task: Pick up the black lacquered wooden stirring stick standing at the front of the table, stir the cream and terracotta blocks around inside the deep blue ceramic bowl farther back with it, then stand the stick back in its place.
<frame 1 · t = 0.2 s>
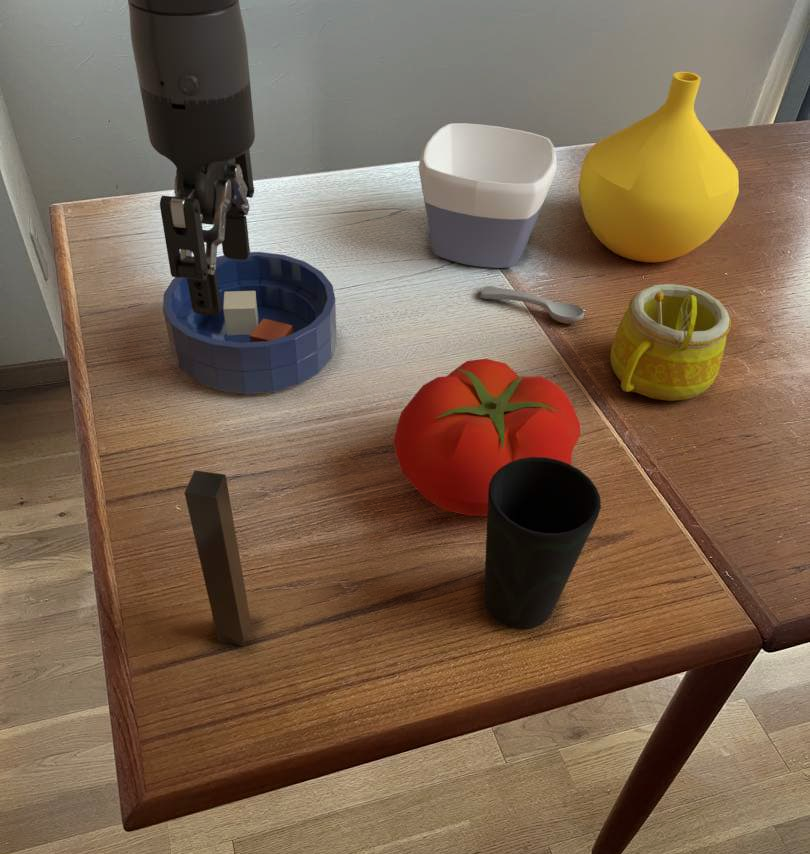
hand: (222, 283, 69), 13 cm above the table, tool pointing down, fingers open, 8 cm apart
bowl: (478, 245, 101), on the table
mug: (651, 380, 85), on the table
vase: (640, 243, 103), on the table
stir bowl: (255, 347, 85), on the table
block b: (273, 356, 83), point 1 cm above the table, touching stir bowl
block a: (242, 326, 86), point 1 cm above the table, touching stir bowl
spoon: (530, 311, 92), on the table
stick: (235, 633, 62), on the table
cup: (518, 601, 65), on the table
tomato: (482, 481, 74), on the table
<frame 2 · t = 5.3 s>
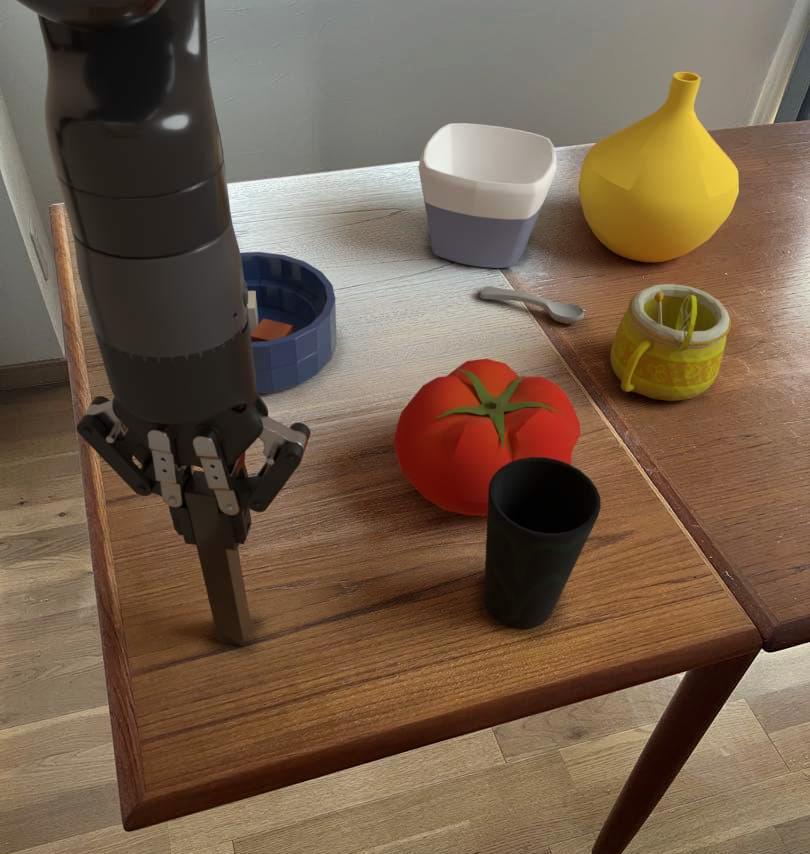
hand: (215, 536, 53), 11 cm above the table, tool pointing down, fingers closed on stick, 2 cm apart
stick: (235, 633, 62), on the table, touching gripper
everything else where it was.
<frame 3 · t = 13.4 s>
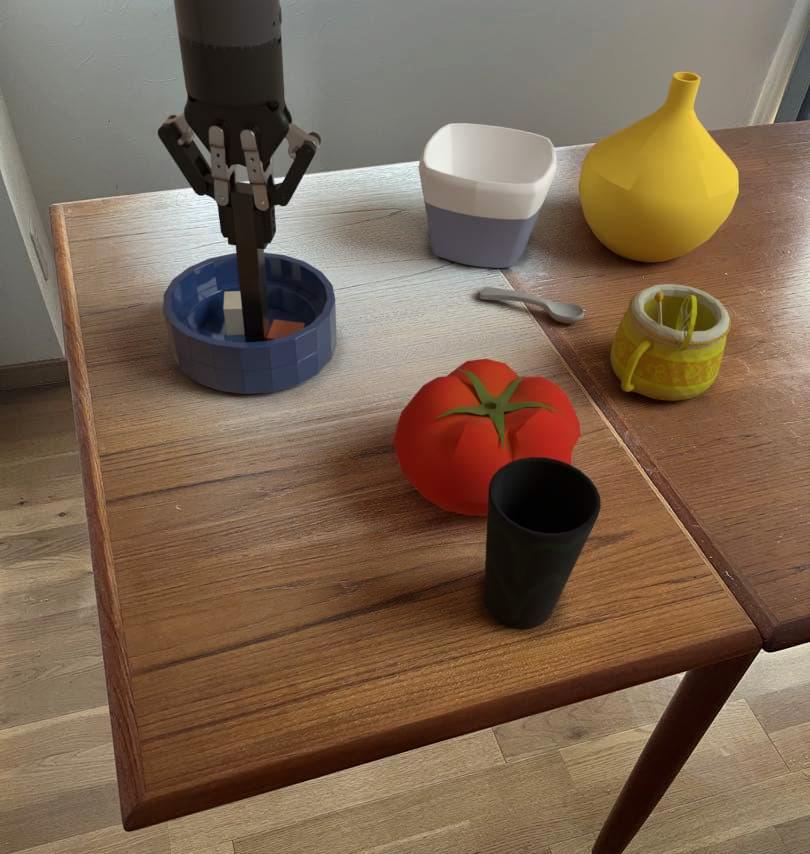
hand: (250, 242, 73), 13 cm above the table, tool pointing down, fingers closed on stick, 2 cm apart
block b: (287, 356, 83), point 1 cm above the table, touching stick, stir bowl
stick: (258, 345, 82), point 2 cm above the table, touching block b, gripper
everything else where it was.
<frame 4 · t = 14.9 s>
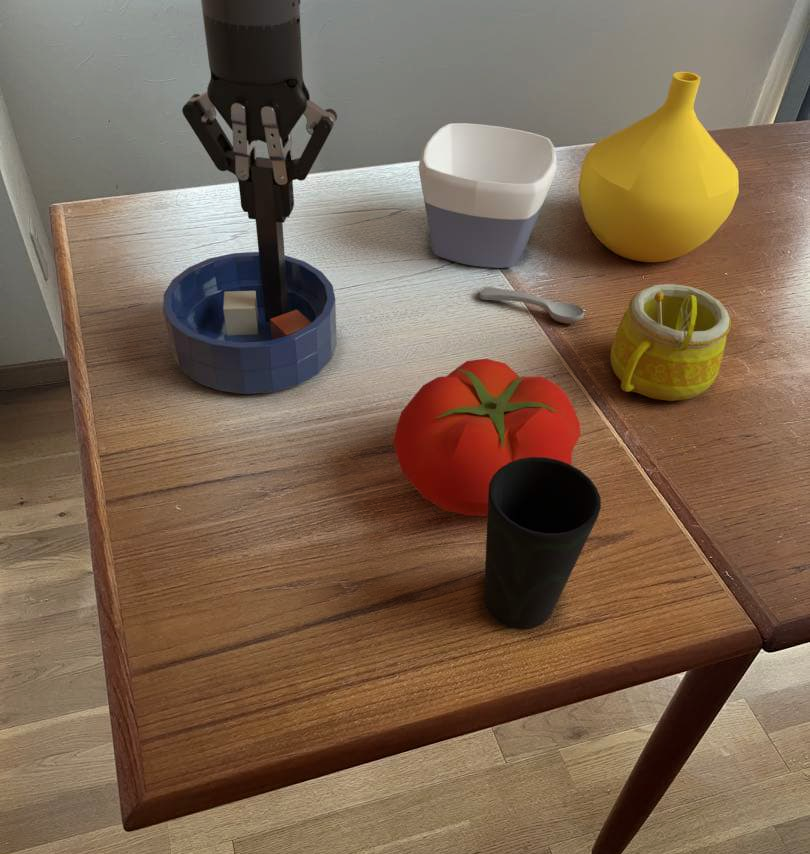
hand: (269, 216, 77), 13 cm above the table, tool pointing down, fingers closed on stick, 2 cm apart
block b: (293, 348, 84), point 1 cm above the table, touching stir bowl
stick: (277, 318, 85), point 2 cm above the table, touching gripper
everything else where it was.
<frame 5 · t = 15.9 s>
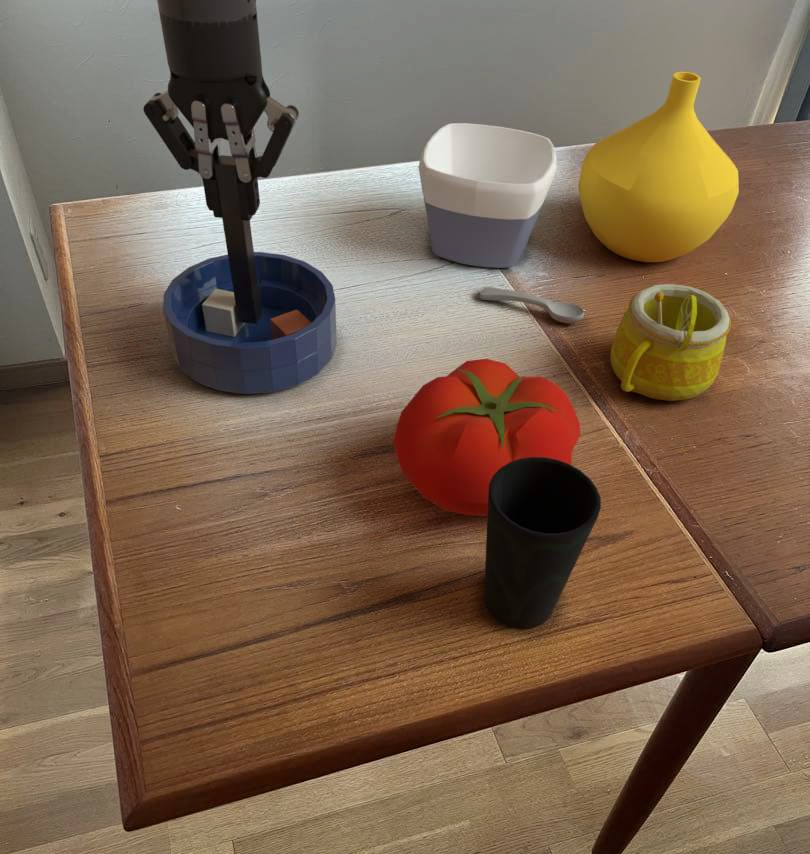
hand: (235, 214, 77), 13 cm above the table, tool pointing down, fingers closed on stick, 2 cm apart
block a: (226, 326, 86), point 1 cm above the table, touching stick, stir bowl
stick: (250, 318, 85), point 2 cm above the table, touching block a, gripper
everything else where it was.
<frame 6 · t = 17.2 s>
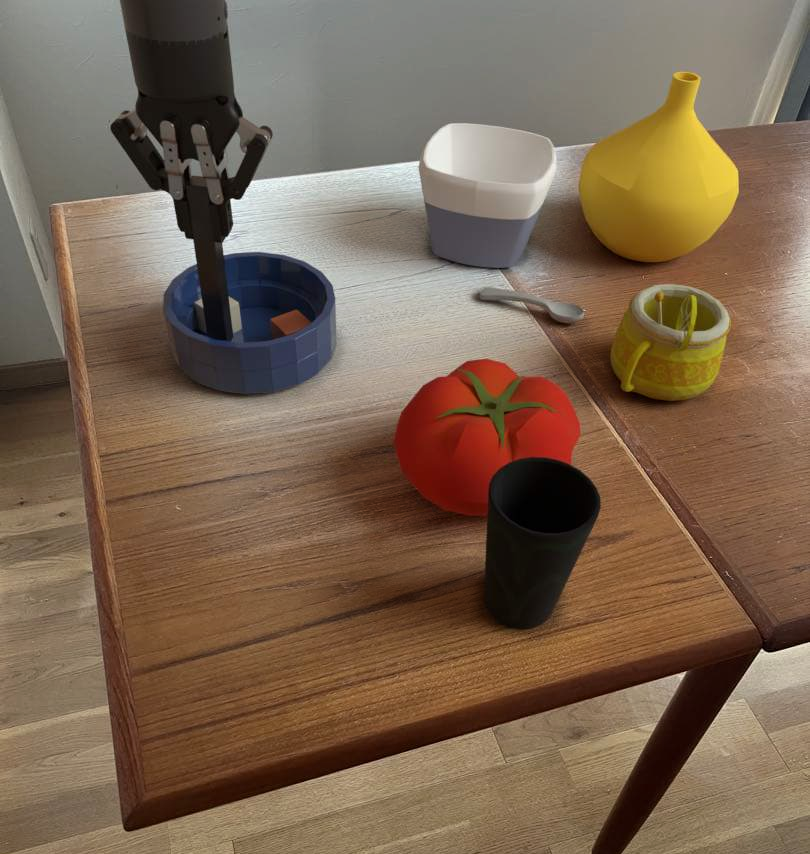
hand: (207, 235, 74), 13 cm above the table, tool pointing down, fingers closed on stick, 2 cm apart
block a: (220, 328, 86), point 1 cm above the table, touching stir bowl
stick: (221, 341, 82), point 2 cm above the table, touching gripper
everything else where it was.
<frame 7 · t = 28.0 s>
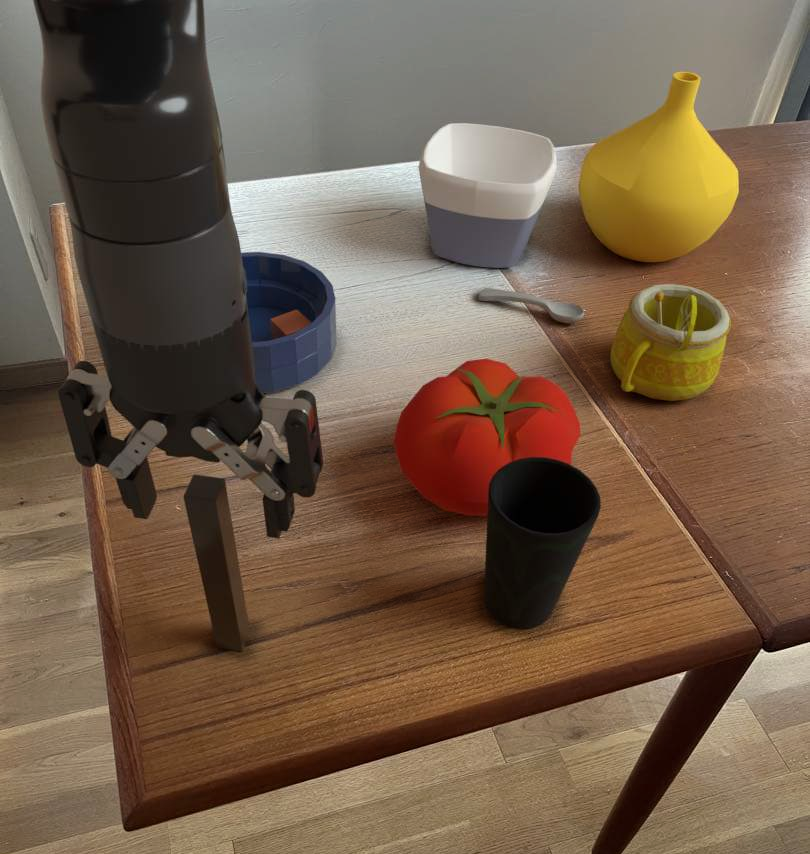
hand: (212, 518, 52), 13 cm above the table, tool pointing down, fingers open, 8 cm apart
stick: (233, 639, 61), on the table
everything else where it was.
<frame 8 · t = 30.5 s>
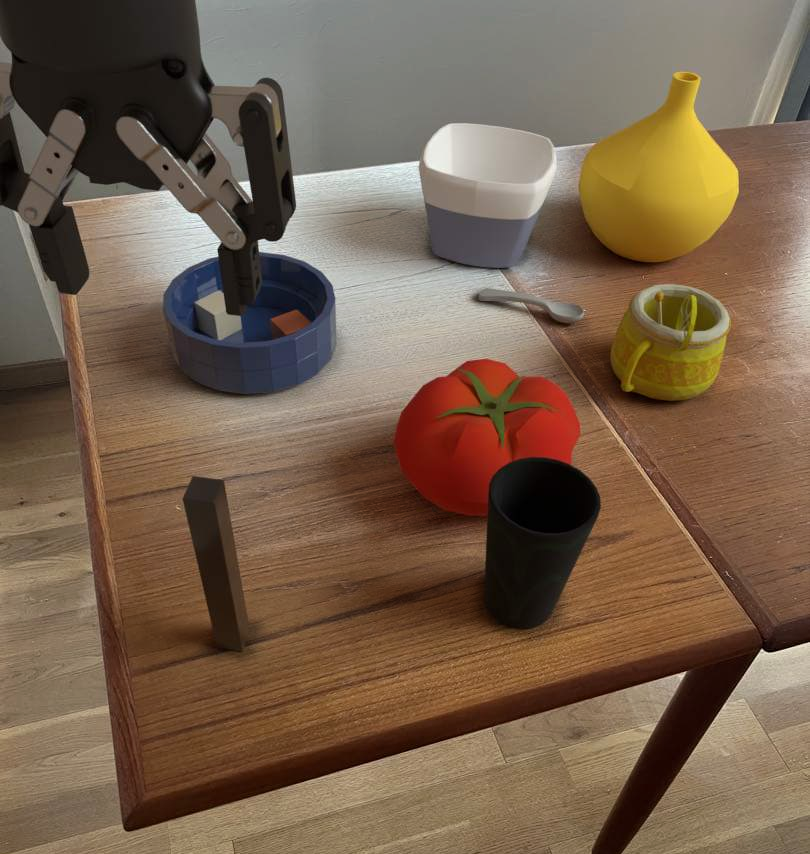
hand: (157, 296, 41), 28 cm above the table, tool pointing down, fingers open, 8 cm apart
nothing on the table moved.
at the end: block b moved 2.5 cm from its start; block b inside the target area in the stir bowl (4.1 cm from its centre), point 0.6 cm above the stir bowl's base; stick inside the target area (0.5 cm from its centre), on the table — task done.
